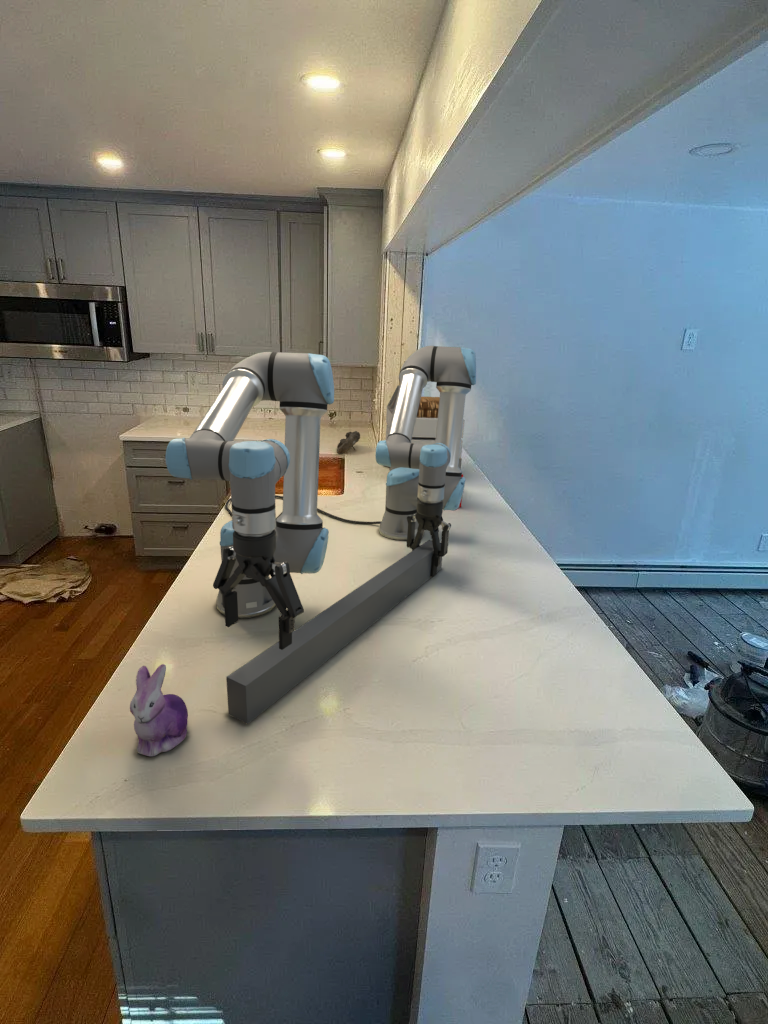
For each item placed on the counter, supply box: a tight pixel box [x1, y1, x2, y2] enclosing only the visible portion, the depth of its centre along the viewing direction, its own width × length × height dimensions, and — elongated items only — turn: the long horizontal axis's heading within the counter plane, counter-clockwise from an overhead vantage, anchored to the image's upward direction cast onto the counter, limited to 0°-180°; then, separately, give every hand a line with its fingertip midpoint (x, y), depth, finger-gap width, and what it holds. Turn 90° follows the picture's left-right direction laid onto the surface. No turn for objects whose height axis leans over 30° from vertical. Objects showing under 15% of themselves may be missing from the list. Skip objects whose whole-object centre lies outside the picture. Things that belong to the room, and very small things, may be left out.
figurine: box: [129, 663, 189, 757], centre depth 99 cm, size 9×10×15 cm
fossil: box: [336, 430, 361, 454], centre depth 311 cm, size 22×10×15 cm
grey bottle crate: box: [384, 384, 465, 472], centre depth 268 cm, size 34×33×41 cm
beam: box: [225, 539, 443, 725], centre depth 140 cm, size 83×5×9 cm, turn 149°
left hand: (258, 634), depth 107 cm, fingers open, 13 cm apart
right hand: (425, 572), depth 170 cm, fingers closed on beam, 5 cm apart
